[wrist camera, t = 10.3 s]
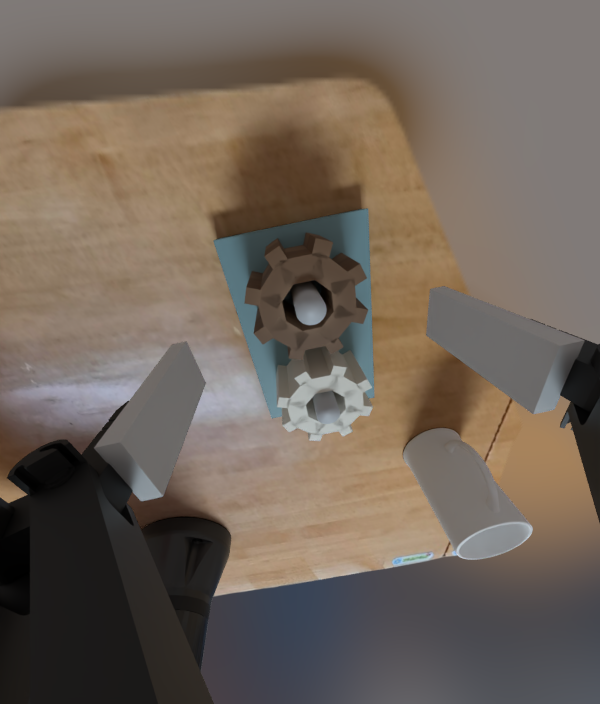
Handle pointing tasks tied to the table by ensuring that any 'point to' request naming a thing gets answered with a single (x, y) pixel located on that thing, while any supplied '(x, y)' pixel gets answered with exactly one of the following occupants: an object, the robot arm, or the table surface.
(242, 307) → the gear board
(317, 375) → the cream gear
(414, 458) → the mug
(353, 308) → the walnut gear
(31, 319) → the table surface
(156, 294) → the table surface
